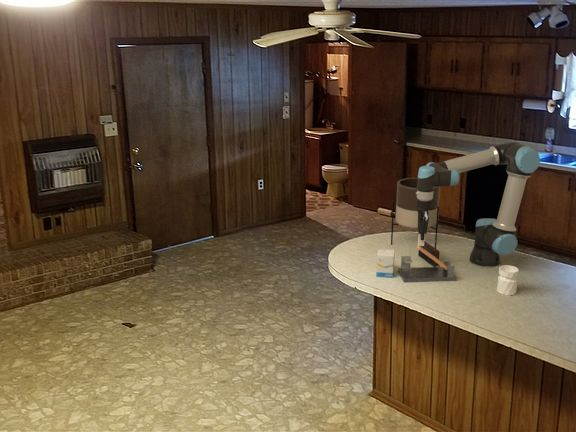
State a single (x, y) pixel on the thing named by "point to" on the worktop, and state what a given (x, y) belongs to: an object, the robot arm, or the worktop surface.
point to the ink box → (385, 263)
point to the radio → (431, 251)
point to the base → (429, 274)
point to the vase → (507, 279)
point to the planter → (413, 206)
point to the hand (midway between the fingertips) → (420, 245)
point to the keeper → (405, 263)
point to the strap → (432, 257)
